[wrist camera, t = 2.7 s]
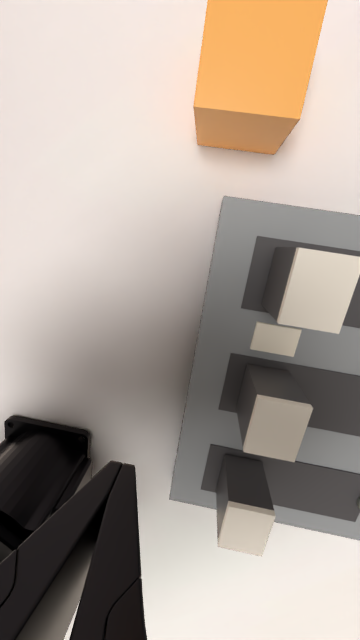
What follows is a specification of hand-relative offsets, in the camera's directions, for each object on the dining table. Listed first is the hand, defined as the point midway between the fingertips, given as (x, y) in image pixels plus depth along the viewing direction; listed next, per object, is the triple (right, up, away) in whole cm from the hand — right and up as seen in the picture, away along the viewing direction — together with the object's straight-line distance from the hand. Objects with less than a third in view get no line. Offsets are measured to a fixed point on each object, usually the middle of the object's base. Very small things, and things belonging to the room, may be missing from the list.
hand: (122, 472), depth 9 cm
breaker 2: (+7, +1, +6) cm, 9 cm away
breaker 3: (+6, -5, +8) cm, 11 cm away
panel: (+13, 0, +8) cm, 15 cm away
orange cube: (+5, +16, +4) cm, 17 cm away
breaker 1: (+8, +7, +5) cm, 11 cm away
